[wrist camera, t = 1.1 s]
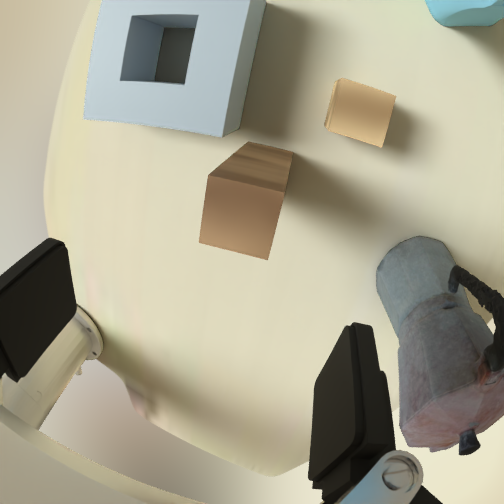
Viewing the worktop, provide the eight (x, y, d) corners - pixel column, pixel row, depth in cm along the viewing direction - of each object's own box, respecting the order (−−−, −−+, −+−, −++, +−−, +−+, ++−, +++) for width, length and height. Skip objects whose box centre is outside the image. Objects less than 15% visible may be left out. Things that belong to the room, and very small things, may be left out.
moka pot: (370, 331, 34) (390, 496, 16) (364, 205, 27) (434, 386, 10) (444, 319, 31) (496, 467, 14) (456, 194, 25) (587, 333, 7)
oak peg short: (368, 138, 24) (382, 147, 20) (324, 125, 24) (328, 131, 20) (379, 96, 22) (396, 96, 18) (334, 81, 22) (341, 77, 18)
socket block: (239, 128, 26) (221, 137, 20) (120, 111, 26) (83, 119, 21) (266, 2, 20) (255, -21, 14) (140, -2, 20) (106, -17, 15)
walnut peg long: (283, 194, 28) (267, 260, 17) (239, 183, 28) (198, 242, 18) (293, 152, 26) (284, 192, 15) (248, 141, 26) (208, 175, 16)
